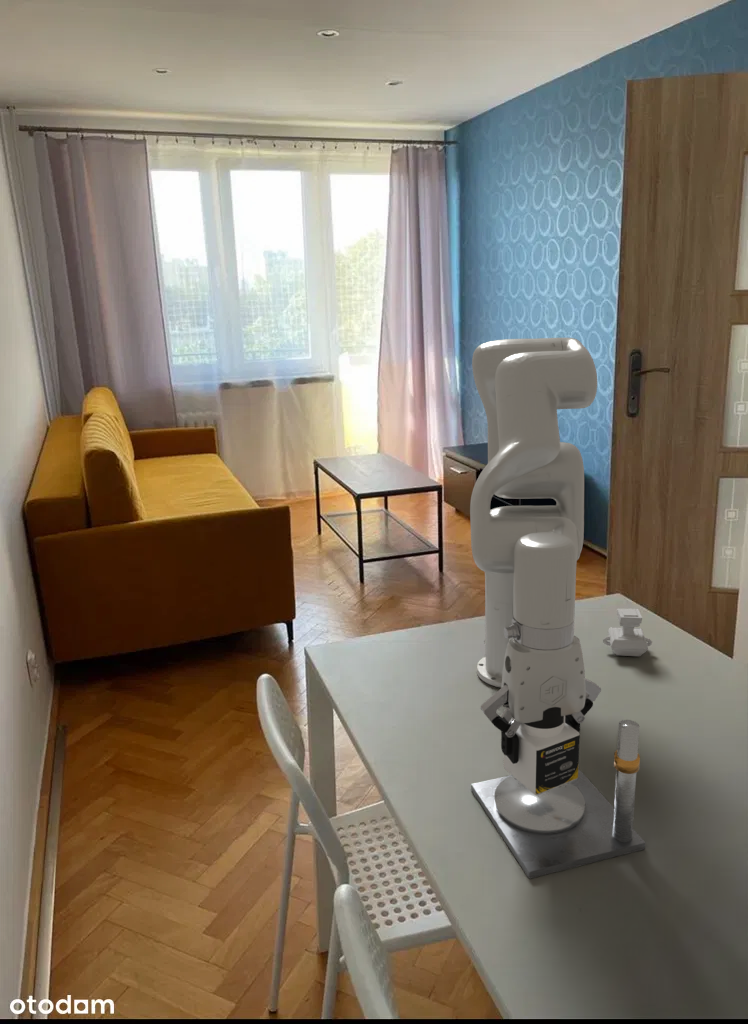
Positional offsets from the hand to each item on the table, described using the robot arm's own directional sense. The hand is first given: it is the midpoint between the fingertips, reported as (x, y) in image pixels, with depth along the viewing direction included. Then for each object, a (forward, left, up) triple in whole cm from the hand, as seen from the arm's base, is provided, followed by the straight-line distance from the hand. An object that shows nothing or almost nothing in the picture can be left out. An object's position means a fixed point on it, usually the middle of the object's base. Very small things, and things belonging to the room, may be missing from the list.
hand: (540, 750), depth 103 cm
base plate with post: (+2, +1, -9) cm, 10 cm away
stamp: (-36, +37, -10) cm, 53 cm away
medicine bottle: (0, 0, -4) cm, 4 cm away
